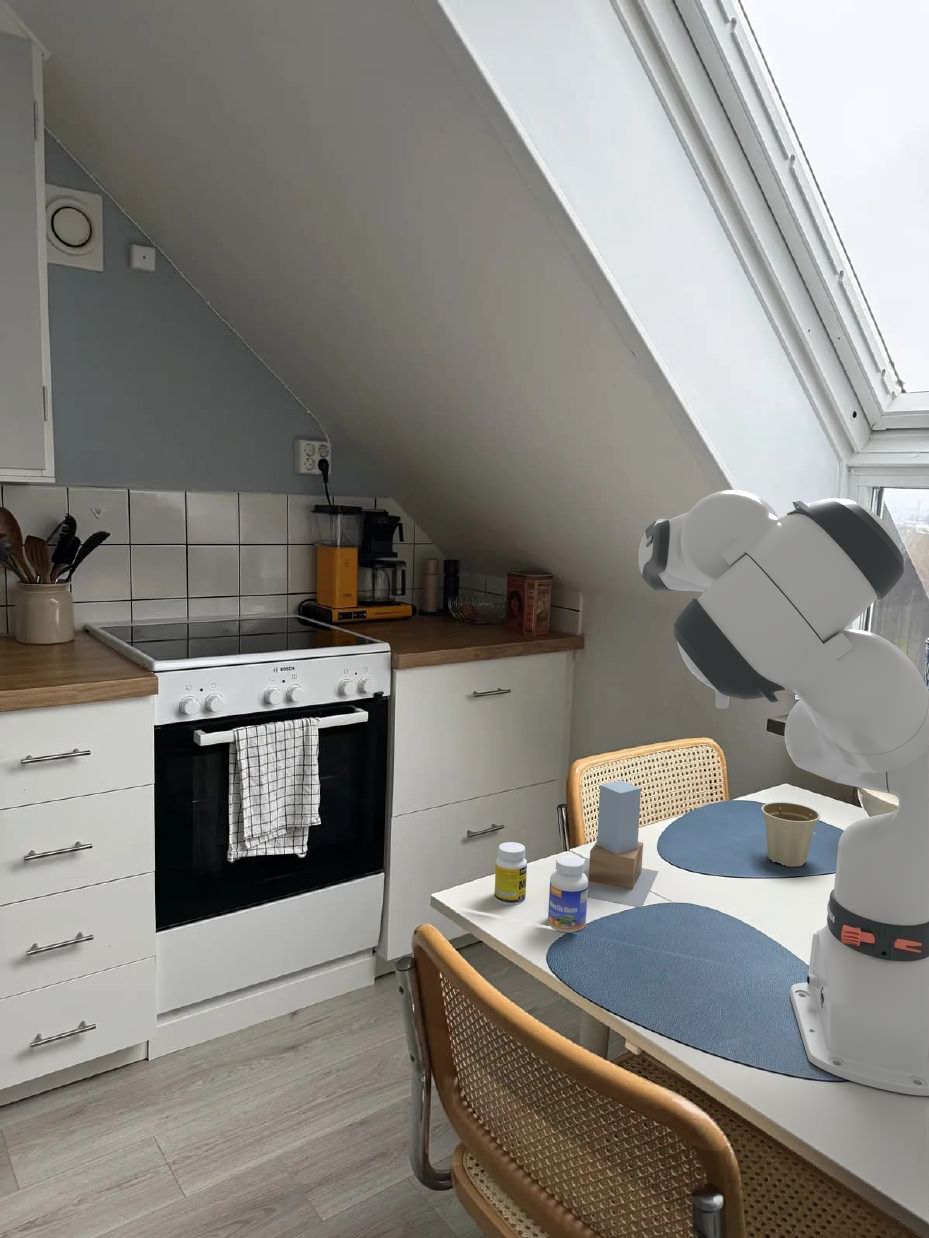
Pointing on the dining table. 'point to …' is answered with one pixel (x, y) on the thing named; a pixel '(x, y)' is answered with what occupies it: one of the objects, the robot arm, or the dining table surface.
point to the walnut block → (615, 866)
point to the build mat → (622, 889)
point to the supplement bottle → (510, 874)
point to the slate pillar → (618, 817)
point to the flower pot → (789, 831)
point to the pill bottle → (568, 895)
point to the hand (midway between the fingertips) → (725, 700)
